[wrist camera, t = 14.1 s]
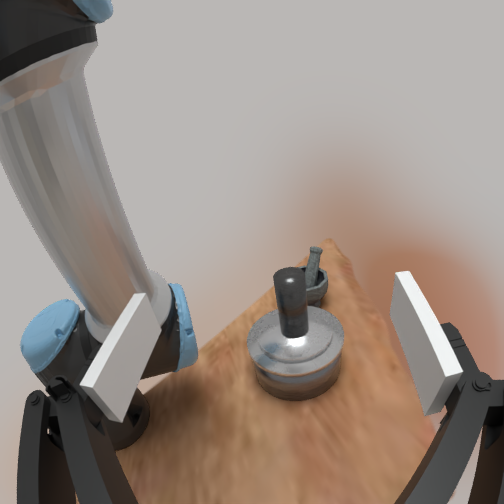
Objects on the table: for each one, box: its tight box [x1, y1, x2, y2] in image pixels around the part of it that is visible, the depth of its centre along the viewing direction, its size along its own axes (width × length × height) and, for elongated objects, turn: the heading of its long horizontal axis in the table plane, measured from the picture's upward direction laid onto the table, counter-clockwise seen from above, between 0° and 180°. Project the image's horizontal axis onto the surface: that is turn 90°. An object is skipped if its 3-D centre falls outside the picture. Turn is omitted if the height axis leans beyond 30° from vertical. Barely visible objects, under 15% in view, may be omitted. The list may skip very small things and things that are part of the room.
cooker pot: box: [247, 306, 344, 401], centre depth 48 cm, size 16×16×8 cm
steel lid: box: [257, 267, 333, 364], centre depth 43 cm, size 12×12×12 cm
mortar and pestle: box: [297, 247, 328, 308], centre depth 63 cm, size 11×9×12 cm
